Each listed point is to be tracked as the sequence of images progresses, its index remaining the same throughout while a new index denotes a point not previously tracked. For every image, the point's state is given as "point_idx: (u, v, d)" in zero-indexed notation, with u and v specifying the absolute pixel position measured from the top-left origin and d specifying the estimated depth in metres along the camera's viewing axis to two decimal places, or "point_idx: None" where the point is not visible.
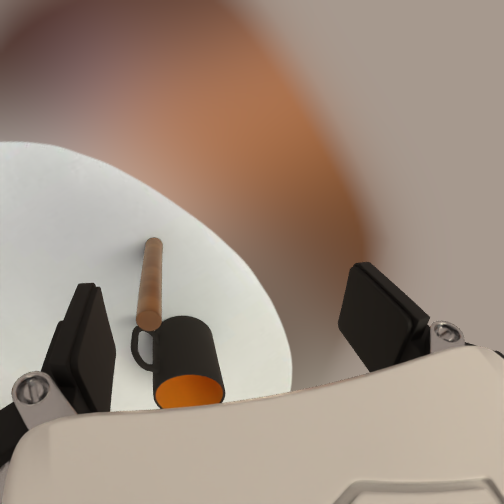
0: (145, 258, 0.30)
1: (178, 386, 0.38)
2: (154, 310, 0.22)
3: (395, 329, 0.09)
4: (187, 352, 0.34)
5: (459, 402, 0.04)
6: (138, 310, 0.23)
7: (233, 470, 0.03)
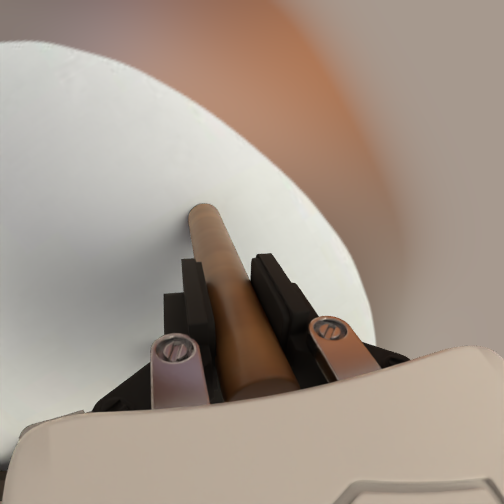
0: (200, 236, 0.15)
1: None
2: (286, 373, 0.07)
3: (276, 322, 0.09)
4: None
5: (459, 402, 0.04)
6: (231, 375, 0.07)
7: (233, 471, 0.03)
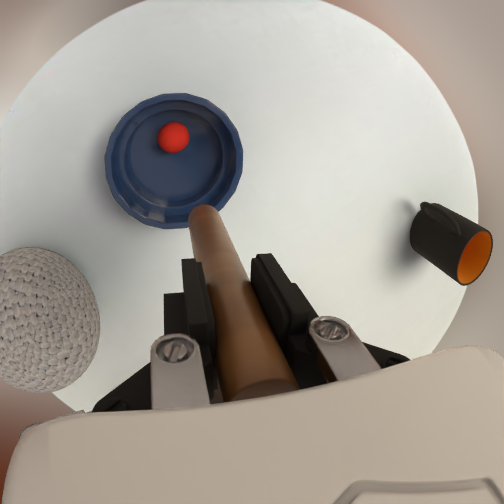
0: (200, 238, 0.15)
1: None
2: (287, 375, 0.07)
3: (276, 322, 0.09)
4: (468, 220, 0.35)
5: (459, 402, 0.04)
6: (231, 376, 0.07)
7: (233, 470, 0.03)
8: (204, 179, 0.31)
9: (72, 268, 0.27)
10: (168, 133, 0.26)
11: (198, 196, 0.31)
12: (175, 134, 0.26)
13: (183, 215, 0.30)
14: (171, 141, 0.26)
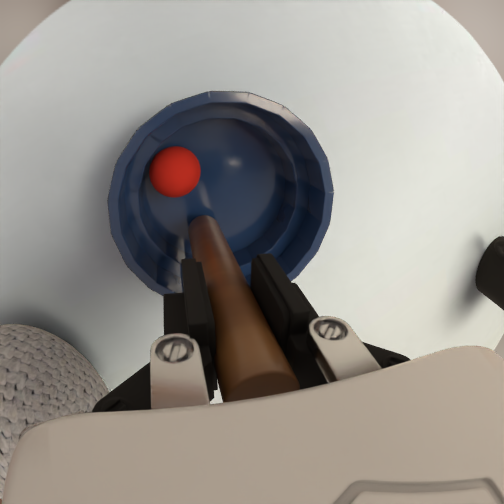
0: (198, 247, 0.15)
1: None
2: (282, 368, 0.07)
3: (276, 322, 0.09)
4: None
5: (459, 402, 0.04)
6: (227, 373, 0.07)
7: (233, 470, 0.03)
8: (260, 224, 0.22)
9: (71, 361, 0.17)
10: (182, 152, 0.16)
11: (254, 252, 0.21)
12: (186, 161, 0.16)
13: None
14: (173, 160, 0.16)
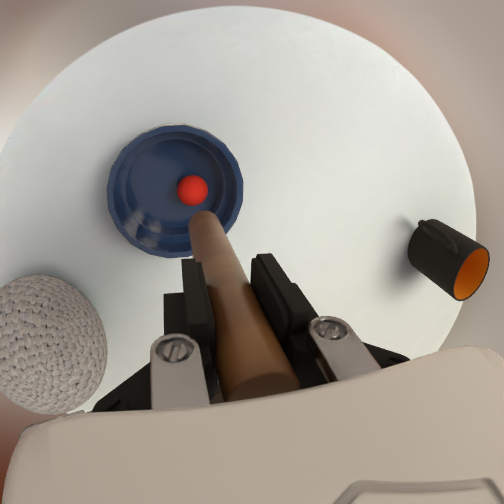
0: (201, 240, 0.15)
1: None
2: (289, 370, 0.07)
3: (276, 322, 0.09)
4: (466, 237, 0.36)
5: (459, 402, 0.04)
6: (233, 369, 0.07)
7: (234, 470, 0.03)
8: (205, 206, 0.32)
9: (78, 296, 0.28)
10: None
11: None
12: None
13: (185, 243, 0.31)
14: None
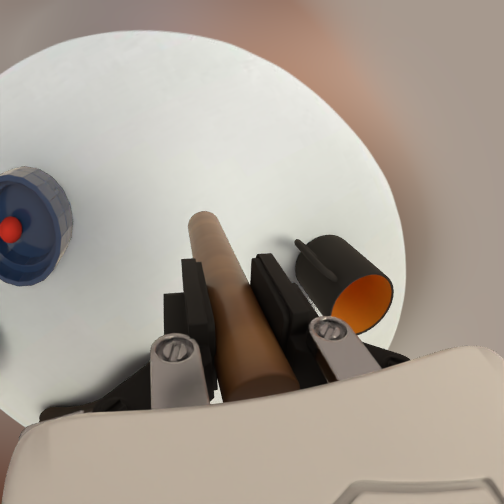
0: (201, 241, 0.15)
1: None
2: (288, 371, 0.07)
3: (276, 322, 0.09)
4: (358, 258, 0.33)
5: (459, 402, 0.04)
6: (232, 370, 0.07)
7: (233, 470, 0.03)
8: (53, 237, 0.30)
9: None
10: (10, 231, 0.26)
11: (47, 254, 0.30)
12: (11, 236, 0.26)
13: (35, 272, 0.29)
14: (6, 236, 0.26)
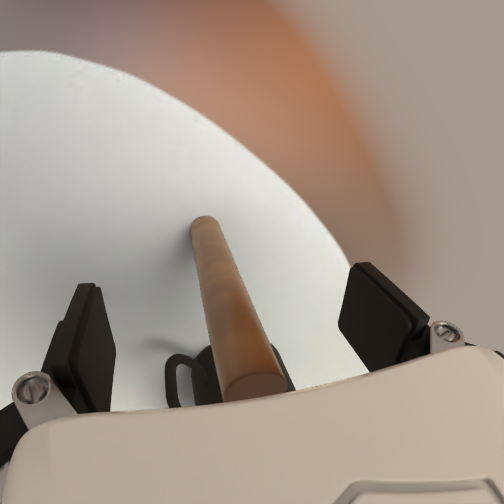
0: (203, 247, 0.16)
1: None
2: (277, 370, 0.09)
3: (395, 329, 0.09)
4: None
5: (459, 402, 0.04)
6: (230, 368, 0.09)
7: (233, 471, 0.03)
8: None
9: None
10: None
11: None
12: None
13: None
14: None
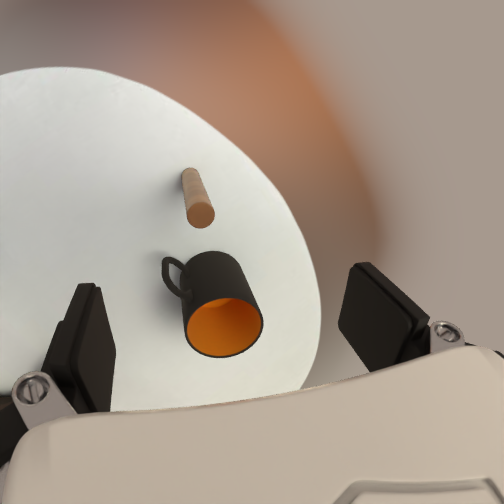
0: (187, 178, 0.30)
1: (207, 328, 0.37)
2: (209, 204, 0.22)
3: (395, 329, 0.09)
4: (223, 279, 0.33)
5: (459, 402, 0.04)
6: (190, 204, 0.22)
7: (234, 470, 0.03)
8: None
9: None
10: None
11: None
12: None
13: None
14: None
